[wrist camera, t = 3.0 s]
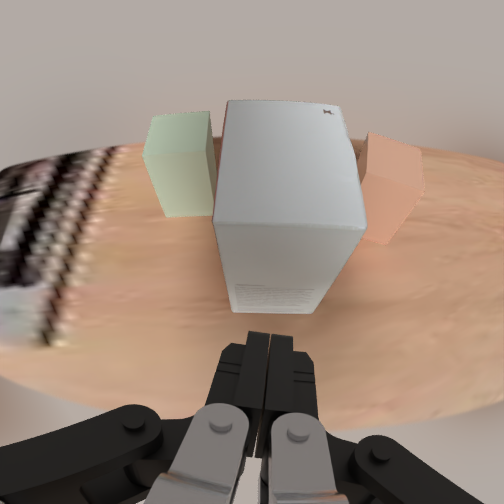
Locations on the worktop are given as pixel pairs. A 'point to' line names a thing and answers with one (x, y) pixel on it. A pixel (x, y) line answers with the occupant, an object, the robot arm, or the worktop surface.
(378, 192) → the terracotta block
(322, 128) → the small box
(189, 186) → the sage block
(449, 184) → the worktop surface
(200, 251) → the worktop surface
